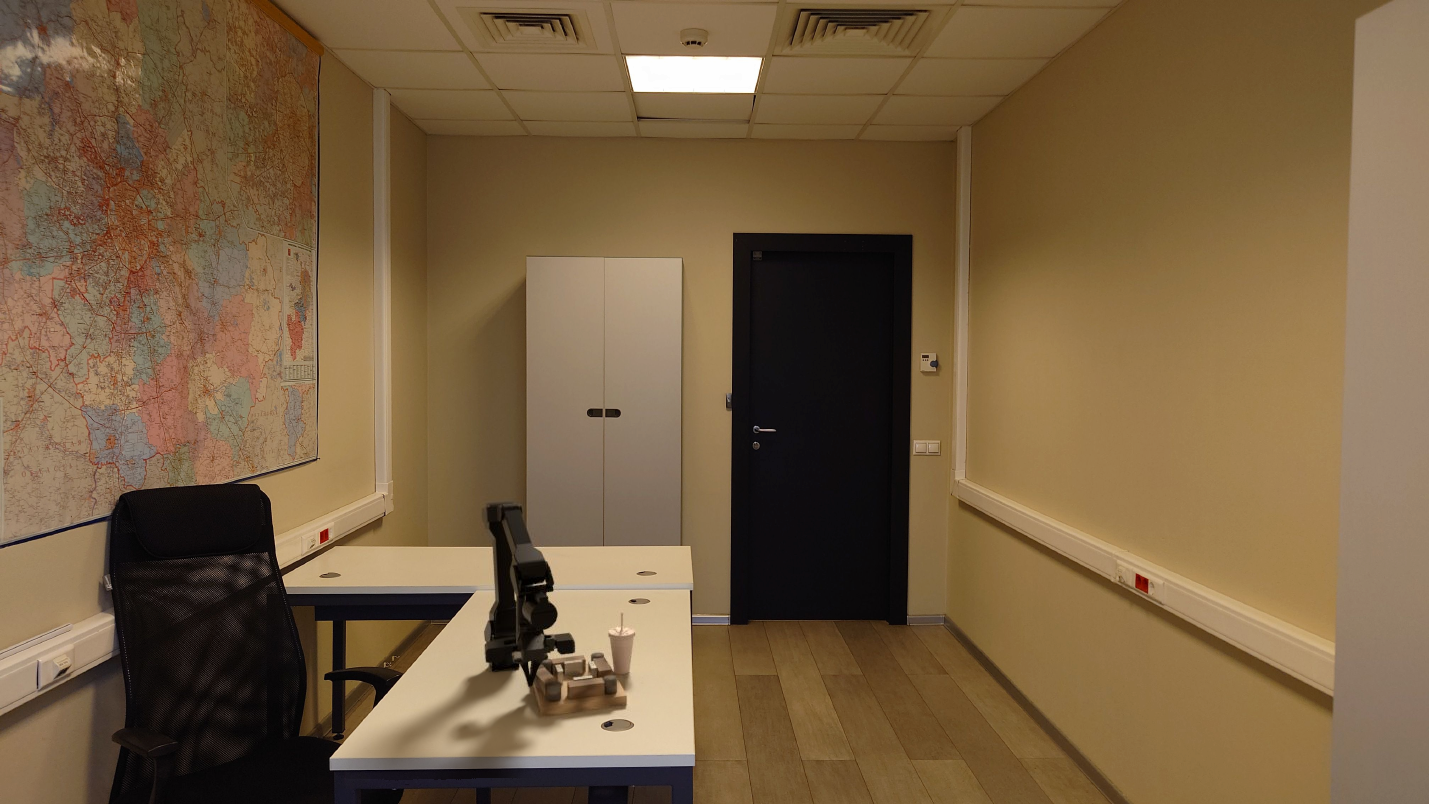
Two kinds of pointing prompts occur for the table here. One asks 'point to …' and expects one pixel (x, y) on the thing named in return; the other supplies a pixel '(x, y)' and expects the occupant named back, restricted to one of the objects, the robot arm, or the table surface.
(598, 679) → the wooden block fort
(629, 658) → the smoothie
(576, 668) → the brackets
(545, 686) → the leg
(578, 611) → the table surface
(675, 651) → the table surface
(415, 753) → the table surface
